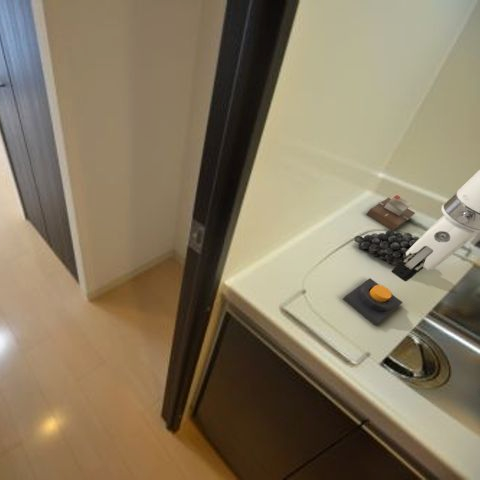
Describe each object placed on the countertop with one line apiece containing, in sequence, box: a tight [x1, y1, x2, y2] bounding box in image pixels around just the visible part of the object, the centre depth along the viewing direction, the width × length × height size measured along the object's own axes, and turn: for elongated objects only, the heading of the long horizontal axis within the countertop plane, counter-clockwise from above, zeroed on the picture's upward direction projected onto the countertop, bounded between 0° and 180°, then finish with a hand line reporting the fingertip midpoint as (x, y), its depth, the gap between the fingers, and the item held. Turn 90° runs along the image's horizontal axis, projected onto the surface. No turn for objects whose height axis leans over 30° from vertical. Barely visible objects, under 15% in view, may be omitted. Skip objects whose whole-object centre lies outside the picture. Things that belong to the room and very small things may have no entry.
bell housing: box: [342, 277, 403, 326], centre depth 76 cm, size 10×8×4 cm
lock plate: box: [365, 197, 416, 231], centre depth 96 cm, size 10×9×3 cm
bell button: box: [369, 284, 393, 302], centre depth 74 cm, size 4×4×2 cm
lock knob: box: [384, 194, 412, 216], centre depth 94 cm, size 4×2×4 cm, turn 33°
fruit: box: [353, 229, 420, 266], centre depth 85 cm, size 9×8×15 cm
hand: (400, 275), depth 68 cm, fingers closed
